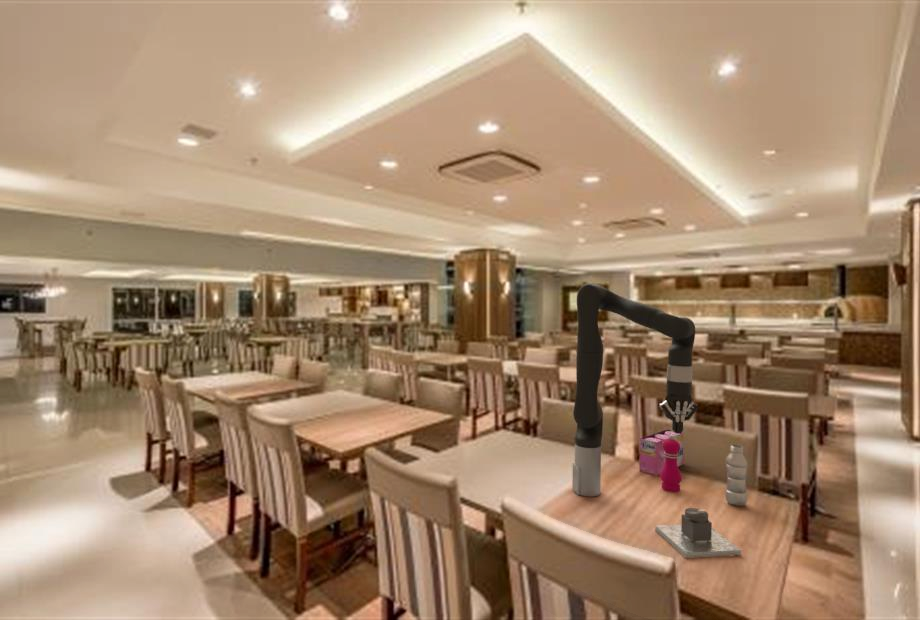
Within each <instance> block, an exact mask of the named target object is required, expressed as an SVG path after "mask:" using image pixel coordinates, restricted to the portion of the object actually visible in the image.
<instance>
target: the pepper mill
mask: <svg viewBox="0 0 920 620" xmlns="http://www.w3.org/2000/svg"><path fill="white" fill-rule="evenodd" d="M663 449H664V450H665V451H664V456H665V465H664V467H663V469H662V471H661V474H659V475H660V480H661V481H662V482H661V489H663V491H665V492H669V493H678V492H680V491H681V485H680V483H681V482H682V474H681V472H680V469H679V467H678V466H677V458H678V457H679V456H678V455H679V454H678V452H679V450H680V444H679V443H678V442H677V441H676V440H674V436H673V435H670V436H669V439H667V440H665V441H664V442H663Z"/></svg>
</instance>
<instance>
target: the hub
mask: <svg viewBox="0 0 920 620" xmlns="http://www.w3.org/2000/svg"><path fill="white" fill-rule="evenodd" d="M681 526H682V523H681V524H679V523H677V524H658V525H657V524H656V525H655V526H654V528H655V530H654V531H655V532H656V533H657V534H659V536H661V537H662V538H663V539H664V540H666V541H665V542H668V543H669V544H670V545H671V546H672V547H673V548H674V549H675V550H676V551H677V552H678V553H679V554H680V555H682V556H683V557H684V559H699V558H698V557H703V558H717V557H716V556H722V557H731V556H730V555H741V556H742V549H741V548H739V547H738V546H736V545H735V544H734V543H733V542H732V541H730V540H728V539H727V538H726V537H725V536H723V535H722V534H720V533H719V532H718V531H716V530H715V529H713V528H712V537H711V540H709V541H692V540H691V539H689V538H688V537H687V536H686V535H685V534H683V533H682V532H681Z"/></svg>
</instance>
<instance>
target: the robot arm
mask: <svg viewBox="0 0 920 620" xmlns="http://www.w3.org/2000/svg"><path fill="white" fill-rule="evenodd" d="M576 310H577V311H576V312H577V341H576V343H577V344H576V345H577V346H576V359H575V360H576V373H575V375H576V376H575V377H576V391H575V393H576V394H575V400H574V406H573V412H572V413H573V414H572V415H573V419H574V422H575V423H576V432H575V436H574V463H572V482H571V483H572V490H573V491H574V493H575V494H576V495H577V496H583V497H598V496H600V495H601V492H602V491H601V488H602V485H601V484H602V481H601V480H602V477H601V476H602V475H601V474H602V471H601V470H602V438H603V425H604V424H603V423H604V413H603V407H602V406H601V404H600V403H599V402H598V391H599V390H598V389H599V384H600V381H601V375H602V370H603V365H604V343H603V339H602V337H601V332H600V329H599V311H606V312H610V313H612V314H617V315H619V316H621V317H623V318H625V319H627V320H628V321H630V322H633V323H635V324H638V325H640V326H642V327H645V328H647V329H650V330H653V331H656V332H658V333H661V334H662V335H664V336H666V337H669V338H671V346H670V347H669V349H668V354H667V355H668V357H667V358H668V359H667V368H666V383H665V384H666V386H665V387H666V388H665V389H666V391H665V392H666V396H665V398H664V400H663V402H662V403H661V402H659V403H658V405H657V406H658V408H659V409H660V410H661V412H662V413H663V414H664V416H665V417H666V418H667V419H668V420H670V421H672V423H671V425H672V427H671V428H672V430H671V431H672V432H674V433H676V434H681V433H683V432H684V422H685V421H690V419H691V418H692V417H693V415H694V414H695V413H696V412H697V410H698V409H699V407H700V406H699V405H698V404H697V403H694V401H693V398H692V394H693V374H694V373H693V350H694V349H693V348H694V344H695V343H694V342H695V339H696V325H695V323H694V322H693V320H692V319H690V318H689V317H685V316H681V317H680V316H676V315H673V314H669V313H668V312H667V313H666V312H665V311H663V310H662V309H660V308H657V307H654V306H651V305H649V304H645V303H642V302H638V301H636V300H635V301H634V300H632V299H628V298H626V297H624V296H621V295H619V294H617V293H614V292H613V291H612V290H609V289H608V288H606V287H604V286H602V285H599V284H594V283H584V285H582V286H581V287H580V288H579V289H578V290H577V293H576ZM669 409H670V410H669Z"/></svg>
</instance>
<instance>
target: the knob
mask: <svg viewBox="0 0 920 620" xmlns="http://www.w3.org/2000/svg"><path fill="white" fill-rule="evenodd" d="M681 524H682V526H681V532H682V533H683V534H685V535H686V536H687V537H688V538H689V539H691V540H692V541H709V540H711V537H712V529H713V528H712V527H713V526H712V525H713V524H712V522H711V521H710V520H709V513H708V512H707V511H706V510H705V509H700V508H696V507H689V508H688V507H687V508H685V510H684V514H681Z"/></svg>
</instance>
